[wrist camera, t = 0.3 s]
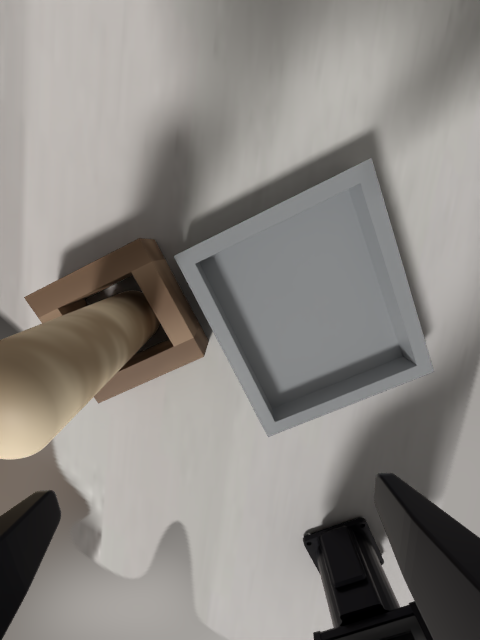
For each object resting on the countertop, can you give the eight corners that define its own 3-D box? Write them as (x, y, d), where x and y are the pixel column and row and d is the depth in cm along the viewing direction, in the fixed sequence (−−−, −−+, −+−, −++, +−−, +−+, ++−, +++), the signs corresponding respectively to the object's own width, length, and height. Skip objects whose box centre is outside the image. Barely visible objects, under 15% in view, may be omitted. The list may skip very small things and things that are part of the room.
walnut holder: (208, 341, 21) (203, 356, 18) (116, 382, 22) (98, 403, 19) (154, 239, 19) (139, 238, 16) (55, 289, 20) (24, 297, 17)
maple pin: (169, 328, 20) (80, 433, 9) (125, 348, 21) (-14, 474, 9) (143, 281, 19) (4, 332, 8) (97, 304, 20) (-97, 383, 8)
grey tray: (412, 357, 21) (434, 371, 19) (265, 416, 23) (268, 437, 20) (353, 169, 18) (371, 157, 15) (181, 254, 19) (173, 255, 17)
